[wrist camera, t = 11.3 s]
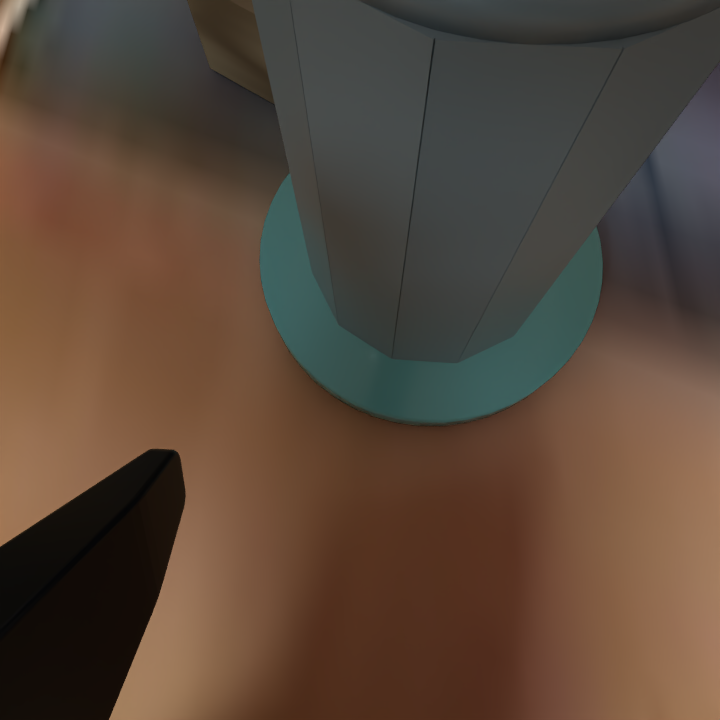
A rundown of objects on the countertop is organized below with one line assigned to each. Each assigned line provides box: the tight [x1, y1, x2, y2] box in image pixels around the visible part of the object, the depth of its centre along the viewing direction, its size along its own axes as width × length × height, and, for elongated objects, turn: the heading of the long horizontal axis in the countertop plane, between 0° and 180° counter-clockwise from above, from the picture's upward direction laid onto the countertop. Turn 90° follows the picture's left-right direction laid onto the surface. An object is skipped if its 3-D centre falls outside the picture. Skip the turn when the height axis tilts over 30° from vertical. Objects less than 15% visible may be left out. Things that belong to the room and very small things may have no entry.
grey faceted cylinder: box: [252, 0, 720, 363], centre depth 13 cm, size 7×7×12 cm
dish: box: [260, 172, 603, 426], centre depth 19 cm, size 11×11×1 cm
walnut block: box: [187, 0, 275, 104], centre depth 21 cm, size 4×4×4 cm
